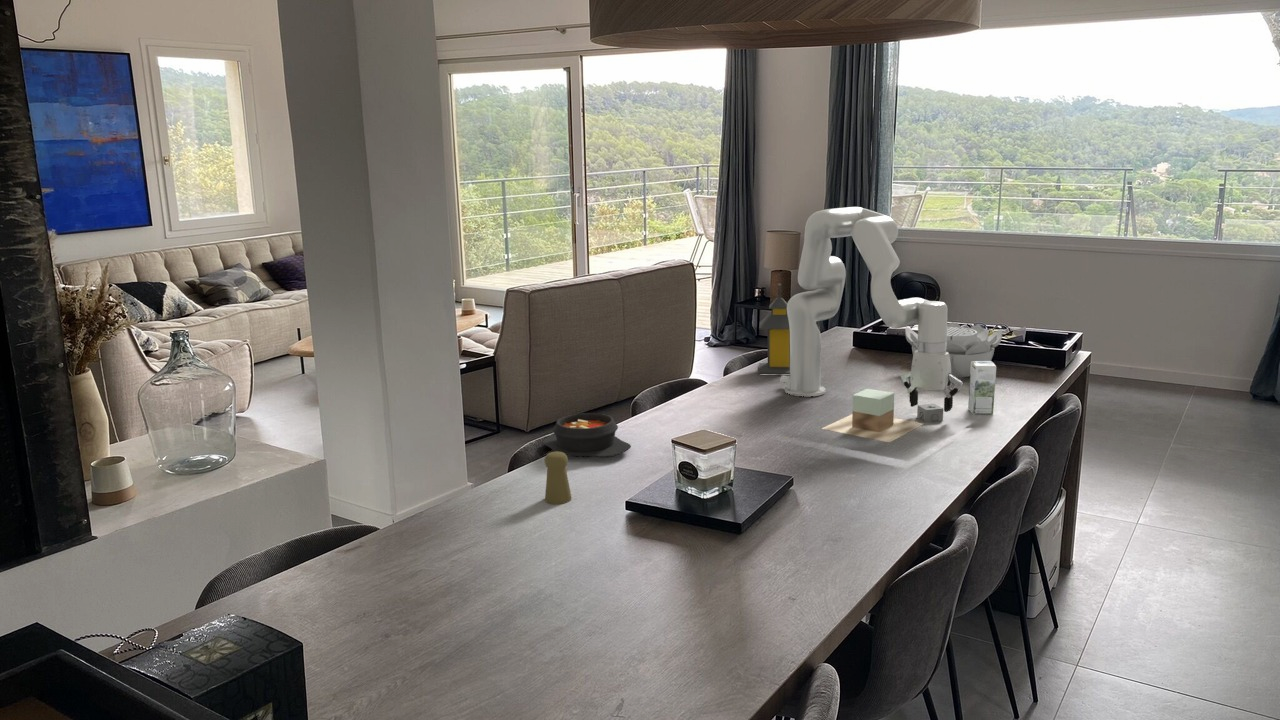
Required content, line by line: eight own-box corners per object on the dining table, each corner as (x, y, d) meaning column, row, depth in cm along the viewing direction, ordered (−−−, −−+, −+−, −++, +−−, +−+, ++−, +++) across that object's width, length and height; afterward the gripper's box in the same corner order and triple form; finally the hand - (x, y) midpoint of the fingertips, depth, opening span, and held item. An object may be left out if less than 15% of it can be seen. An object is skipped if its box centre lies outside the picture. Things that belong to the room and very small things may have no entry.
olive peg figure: (545, 495, 216) (542, 449, 214) (571, 493, 217) (569, 448, 214) (544, 504, 210) (542, 458, 208) (571, 503, 211) (569, 456, 208)
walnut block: (852, 427, 254) (852, 411, 253) (866, 420, 260) (866, 404, 259) (879, 432, 249) (879, 416, 248) (893, 425, 255) (893, 409, 254)
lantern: (758, 375, 318) (758, 287, 311) (759, 365, 332) (758, 281, 325) (800, 375, 316) (801, 287, 309) (799, 365, 330) (800, 280, 323)
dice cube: (925, 427, 257) (926, 410, 256) (916, 422, 261) (917, 405, 260) (942, 426, 258) (943, 408, 256) (933, 420, 262) (934, 403, 261)
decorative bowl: (920, 360, 331) (921, 318, 328) (1007, 370, 314) (1010, 326, 310) (887, 379, 307) (888, 334, 304) (980, 391, 290) (983, 343, 287)
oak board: (821, 433, 254) (821, 428, 254) (857, 416, 268) (857, 411, 268) (889, 447, 241) (889, 442, 241) (923, 428, 255) (924, 423, 255)
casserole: (645, 449, 246) (644, 418, 244) (601, 470, 232) (599, 437, 230) (573, 434, 261) (571, 405, 259) (526, 453, 246) (525, 422, 244)
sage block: (852, 411, 253) (852, 394, 252) (866, 404, 259) (867, 388, 258) (879, 416, 248) (880, 399, 247) (893, 409, 254) (894, 392, 253)
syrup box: (988, 409, 272) (991, 360, 268) (993, 414, 266) (996, 365, 262) (967, 409, 272) (970, 360, 269) (972, 415, 266) (975, 365, 263)
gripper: (896, 346, 258) (895, 406, 261) (957, 353, 246) (955, 416, 250) (908, 341, 263) (907, 400, 267) (968, 347, 252) (966, 409, 255)
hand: (930, 408), depth 258 cm, fingers open, 9 cm apart
